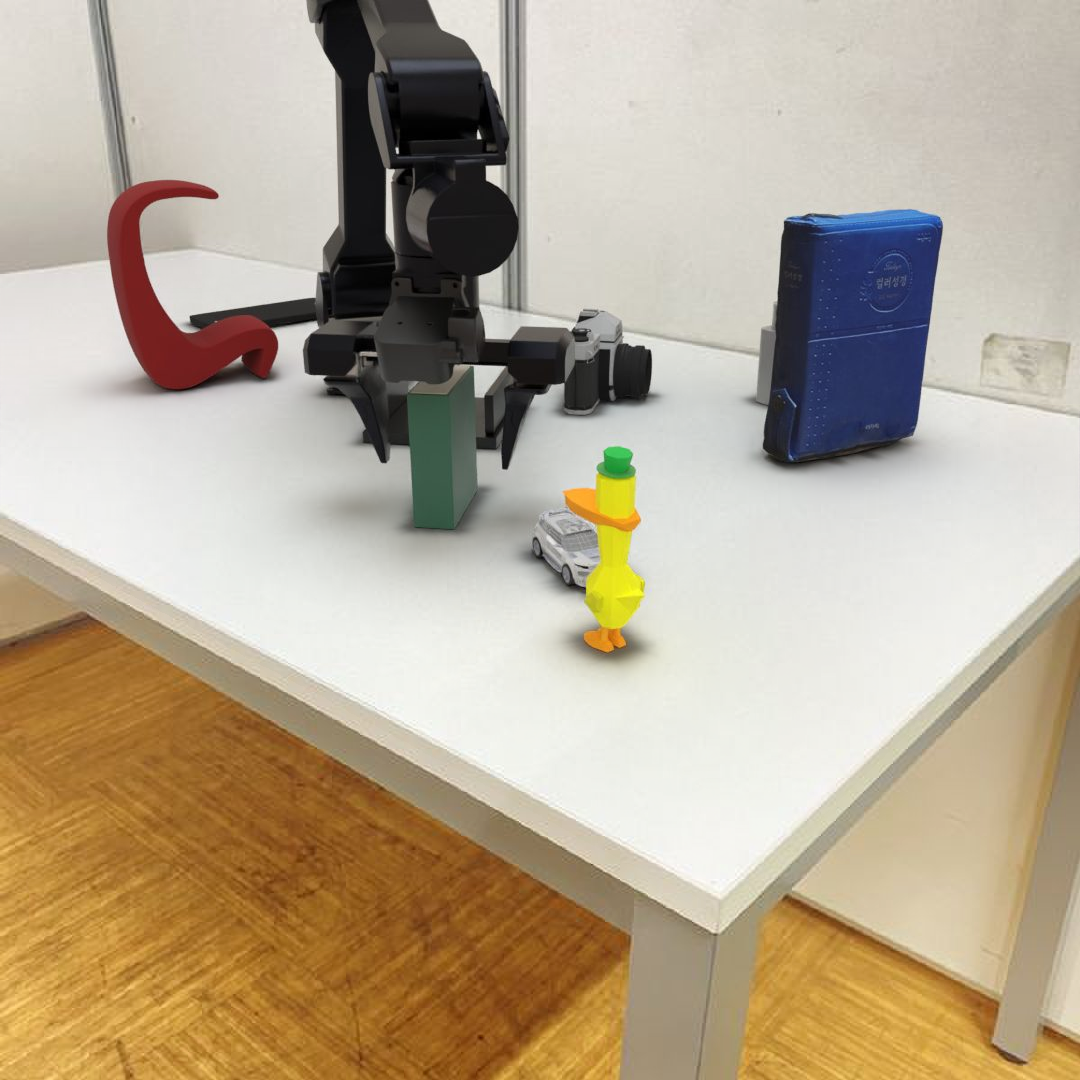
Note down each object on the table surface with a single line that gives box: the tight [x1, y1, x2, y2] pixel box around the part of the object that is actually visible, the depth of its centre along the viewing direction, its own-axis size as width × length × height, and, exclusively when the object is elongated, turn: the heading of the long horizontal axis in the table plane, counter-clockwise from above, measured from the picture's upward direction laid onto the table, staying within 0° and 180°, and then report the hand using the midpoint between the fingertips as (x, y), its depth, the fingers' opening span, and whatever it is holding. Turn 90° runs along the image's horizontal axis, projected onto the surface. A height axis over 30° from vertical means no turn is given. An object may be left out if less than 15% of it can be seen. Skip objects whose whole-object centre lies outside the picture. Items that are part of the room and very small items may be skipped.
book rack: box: [362, 364, 512, 450], centre depth 103 cm, size 12×12×4 cm
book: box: [762, 208, 944, 463], centre depth 93 cm, size 14×5×20 cm, turn 117°
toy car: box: [531, 506, 600, 588], centre depth 75 cm, size 4×8×3 cm, turn 24°
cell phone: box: [189, 297, 333, 329], centre depth 145 cm, size 9×18×1 cm, turn 129°
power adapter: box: [755, 300, 777, 406], centre depth 109 cm, size 3×5×12 cm, turn 128°
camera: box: [563, 308, 653, 416], centre depth 110 cm, size 13×8×9 cm, turn 169°
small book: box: [407, 365, 478, 530], centre depth 83 cm, size 3×8×10 cm, turn 171°
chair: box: [106, 179, 279, 390], centre depth 115 cm, size 15×7×20 cm, turn 118°
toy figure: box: [561, 445, 646, 653], centre depth 64 cm, size 7×4×12 cm, turn 38°
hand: (445, 465), depth 84 cm, fingers open, 9 cm apart
